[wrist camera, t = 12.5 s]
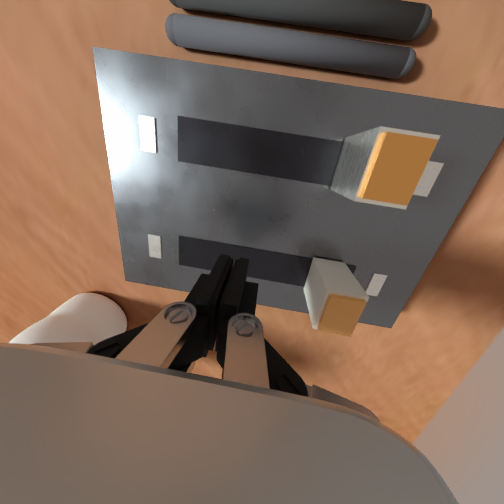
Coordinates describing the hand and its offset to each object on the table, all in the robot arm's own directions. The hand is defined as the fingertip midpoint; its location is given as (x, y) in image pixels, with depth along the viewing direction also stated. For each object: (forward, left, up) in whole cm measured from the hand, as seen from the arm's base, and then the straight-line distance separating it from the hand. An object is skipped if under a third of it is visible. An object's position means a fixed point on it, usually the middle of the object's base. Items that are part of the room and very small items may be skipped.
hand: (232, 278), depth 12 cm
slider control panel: (-3, +2, -8) cm, 8 cm away
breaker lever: (+1, +7, -4) cm, 8 cm away
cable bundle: (-14, +1, -8) cm, 16 cm away
